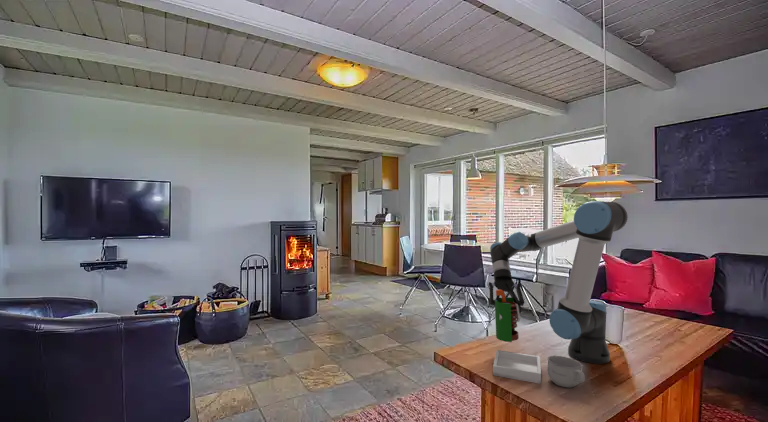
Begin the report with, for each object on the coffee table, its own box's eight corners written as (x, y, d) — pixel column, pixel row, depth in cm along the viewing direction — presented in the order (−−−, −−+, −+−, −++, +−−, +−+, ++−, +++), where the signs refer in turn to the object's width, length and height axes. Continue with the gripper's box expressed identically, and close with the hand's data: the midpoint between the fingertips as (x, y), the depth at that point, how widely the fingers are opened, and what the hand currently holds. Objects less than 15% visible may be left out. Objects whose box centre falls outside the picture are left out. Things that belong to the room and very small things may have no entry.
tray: (539, 365, 144) (539, 356, 144) (540, 383, 130) (540, 373, 129) (496, 358, 150) (496, 349, 150) (492, 375, 135) (493, 365, 135)
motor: (520, 342, 150) (517, 292, 150) (497, 341, 152) (494, 293, 152) (516, 333, 160) (514, 287, 160) (495, 333, 162) (492, 287, 162)
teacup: (541, 376, 135) (541, 354, 135) (569, 375, 136) (570, 354, 136) (562, 396, 121) (563, 372, 121) (594, 395, 122) (595, 371, 122)
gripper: (522, 278, 170) (532, 325, 154) (479, 277, 172) (484, 323, 156) (526, 268, 165) (536, 316, 149) (480, 267, 167) (486, 314, 151)
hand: (509, 319), depth 152 cm, fingers closed on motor, 6 cm apart
